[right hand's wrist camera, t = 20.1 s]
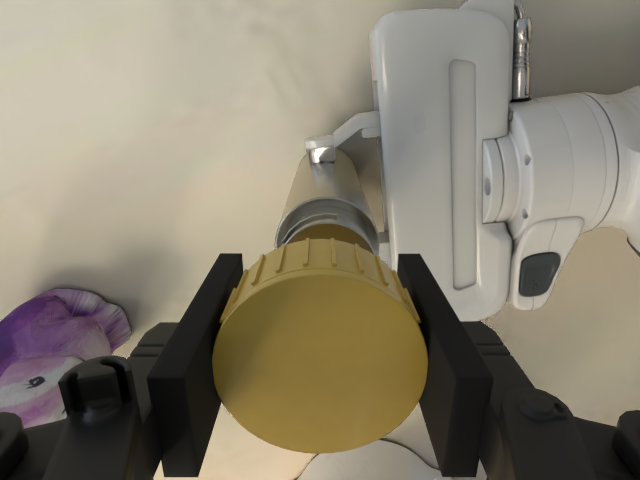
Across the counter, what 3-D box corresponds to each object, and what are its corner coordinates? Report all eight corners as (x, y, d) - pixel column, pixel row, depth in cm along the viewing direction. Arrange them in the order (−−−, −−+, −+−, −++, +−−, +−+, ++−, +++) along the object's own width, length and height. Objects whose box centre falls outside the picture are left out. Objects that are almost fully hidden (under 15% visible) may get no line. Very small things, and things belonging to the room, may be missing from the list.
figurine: (154, 311, 37) (51, 447, 23) (100, 382, 40) (-19, 541, 26) (59, 251, 35) (-115, 360, 21) (10, 330, 38) (-172, 471, 24)
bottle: (291, 152, 32) (255, 224, 16) (349, 140, 32) (377, 200, 15) (303, 208, 34) (283, 328, 17) (359, 198, 34) (394, 309, 17)
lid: (425, 375, 13) (447, 434, 11) (259, 409, 14) (248, 472, 12) (393, 215, 11) (411, 247, 9) (202, 261, 12) (174, 302, 10)
